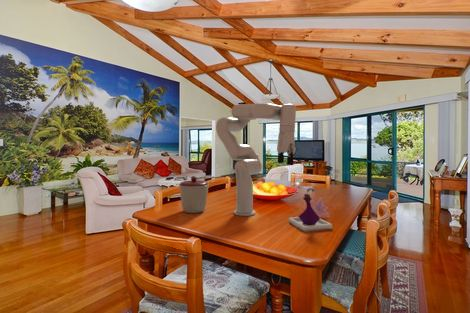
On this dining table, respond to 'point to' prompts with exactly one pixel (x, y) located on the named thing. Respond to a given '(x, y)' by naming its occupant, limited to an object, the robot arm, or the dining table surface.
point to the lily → (320, 208)
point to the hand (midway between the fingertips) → (285, 163)
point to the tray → (318, 226)
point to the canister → (193, 195)
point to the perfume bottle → (309, 211)
